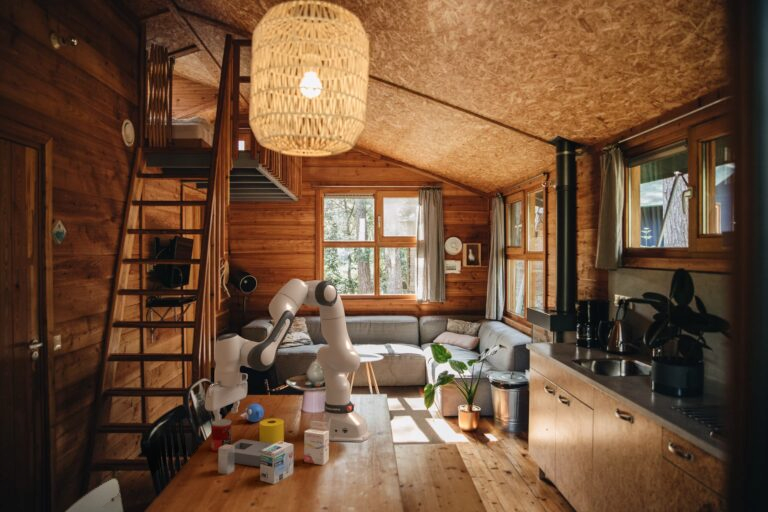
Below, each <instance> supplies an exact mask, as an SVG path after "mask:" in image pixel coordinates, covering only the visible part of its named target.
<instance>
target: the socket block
mask: <svg viewBox="0 0 768 512" xmlns="http://www.w3.org/2000/svg"><path fill="white" fill-rule="evenodd" d="M273 444H274V443H267V442H260V440H259V441H258V440H251V439H244V438H241V439H239V440H238V441H235V442H234V443H231V445H234V446H235V456H234V464H239V465H246V466H252V467H259V468H260V465H261V450H262V449H264V448H266V447H268V446H271V445H273Z"/></svg>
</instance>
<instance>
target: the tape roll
mask: <svg viewBox="0 0 768 512" xmlns="http://www.w3.org/2000/svg"><path fill="white" fill-rule="evenodd" d="M284 440H285V420H284V419H282V418H278V417H277V418H273V417H270V418H265V419H263V420H262V419H261V420H259V442H267V443H274V444H275V443H277V442H279V441H282V442H285V441H284Z"/></svg>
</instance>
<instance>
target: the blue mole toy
mask: <svg viewBox="0 0 768 512" xmlns="http://www.w3.org/2000/svg"><path fill="white" fill-rule="evenodd" d="M244 411H245V412H244V413H242V414H240V415H239V418H243V419H245V420H247V421H248V422H251V423H256V422H257V423H258V422H260V421H262V419H263V417H264V413H265V411H264V408H263V406H262V405H261V404H259V403H251V404H250V405H248V406H247V407H246V408H245V409H244Z"/></svg>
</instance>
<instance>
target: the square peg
mask: <svg viewBox="0 0 768 512" xmlns="http://www.w3.org/2000/svg"><path fill="white" fill-rule="evenodd" d="M217 453H218V457H217V458H218V459H217V460H218V461H217V462H218V465H217V466H218V469H217V471H218V474H223V475H229V474H231V473H233V472H234V471H235V463H234V456H235V446H234V445H232V444H231V445H227V444H225V445H223V446H221V447H220V448H219V451H218V452H217Z"/></svg>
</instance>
